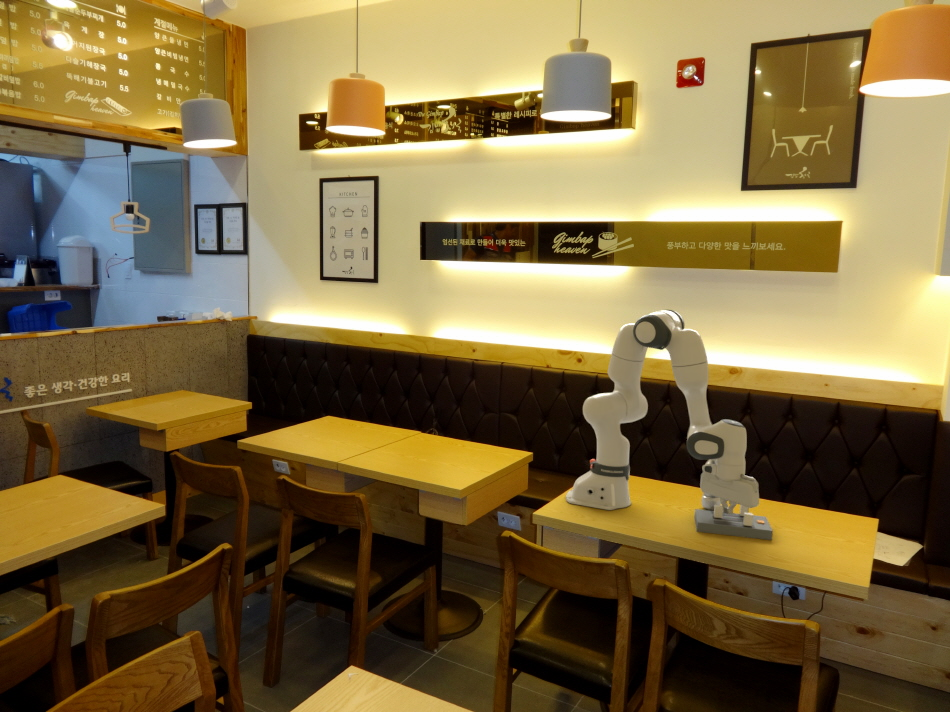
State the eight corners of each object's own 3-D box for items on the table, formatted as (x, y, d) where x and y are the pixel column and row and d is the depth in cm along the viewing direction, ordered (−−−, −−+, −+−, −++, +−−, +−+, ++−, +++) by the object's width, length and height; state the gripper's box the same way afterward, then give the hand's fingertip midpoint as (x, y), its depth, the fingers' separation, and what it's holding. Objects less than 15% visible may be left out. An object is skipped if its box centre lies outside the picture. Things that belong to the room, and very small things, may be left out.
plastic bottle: (717, 506, 244) (722, 450, 242) (722, 513, 238) (727, 455, 235) (698, 505, 245) (703, 449, 242) (703, 511, 238) (707, 454, 236)
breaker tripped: (714, 517, 223) (715, 506, 223) (713, 515, 225) (714, 504, 225) (722, 518, 223) (723, 507, 222) (721, 516, 224) (722, 505, 224)
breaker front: (743, 525, 217) (744, 514, 216) (743, 523, 219) (744, 512, 218) (752, 526, 216) (753, 515, 216) (751, 523, 218) (752, 513, 218)
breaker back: (740, 515, 225) (741, 505, 225) (739, 513, 227) (740, 503, 227) (748, 516, 225) (749, 506, 224) (747, 514, 227) (748, 504, 226)
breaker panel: (696, 531, 219) (697, 521, 219) (694, 517, 232) (695, 507, 232) (771, 540, 214) (772, 529, 214) (765, 525, 227) (765, 515, 226)
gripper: (765, 477, 214) (762, 521, 216) (711, 462, 232) (709, 502, 233) (751, 480, 211) (749, 524, 213) (698, 464, 228) (696, 505, 230)
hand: (727, 513), depth 223 cm, fingers closed
